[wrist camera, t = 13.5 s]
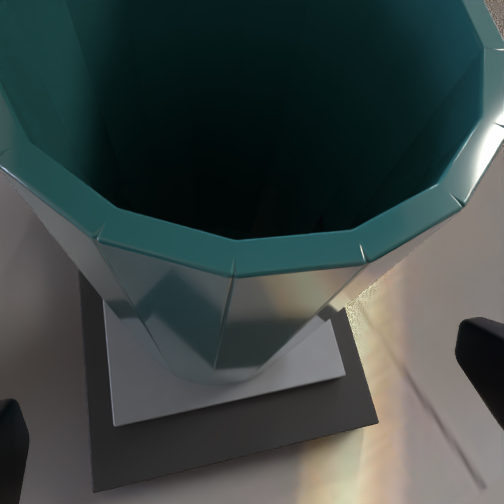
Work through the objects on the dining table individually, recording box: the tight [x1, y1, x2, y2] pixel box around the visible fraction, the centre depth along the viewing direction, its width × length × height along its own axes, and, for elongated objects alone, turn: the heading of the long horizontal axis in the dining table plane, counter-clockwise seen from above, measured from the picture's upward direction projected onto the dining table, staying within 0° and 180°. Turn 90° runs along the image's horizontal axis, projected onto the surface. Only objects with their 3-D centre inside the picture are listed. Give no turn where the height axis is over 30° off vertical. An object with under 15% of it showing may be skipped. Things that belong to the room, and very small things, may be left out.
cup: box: [0, 0, 504, 386], centre depth 11 cm, size 7×7×13 cm
